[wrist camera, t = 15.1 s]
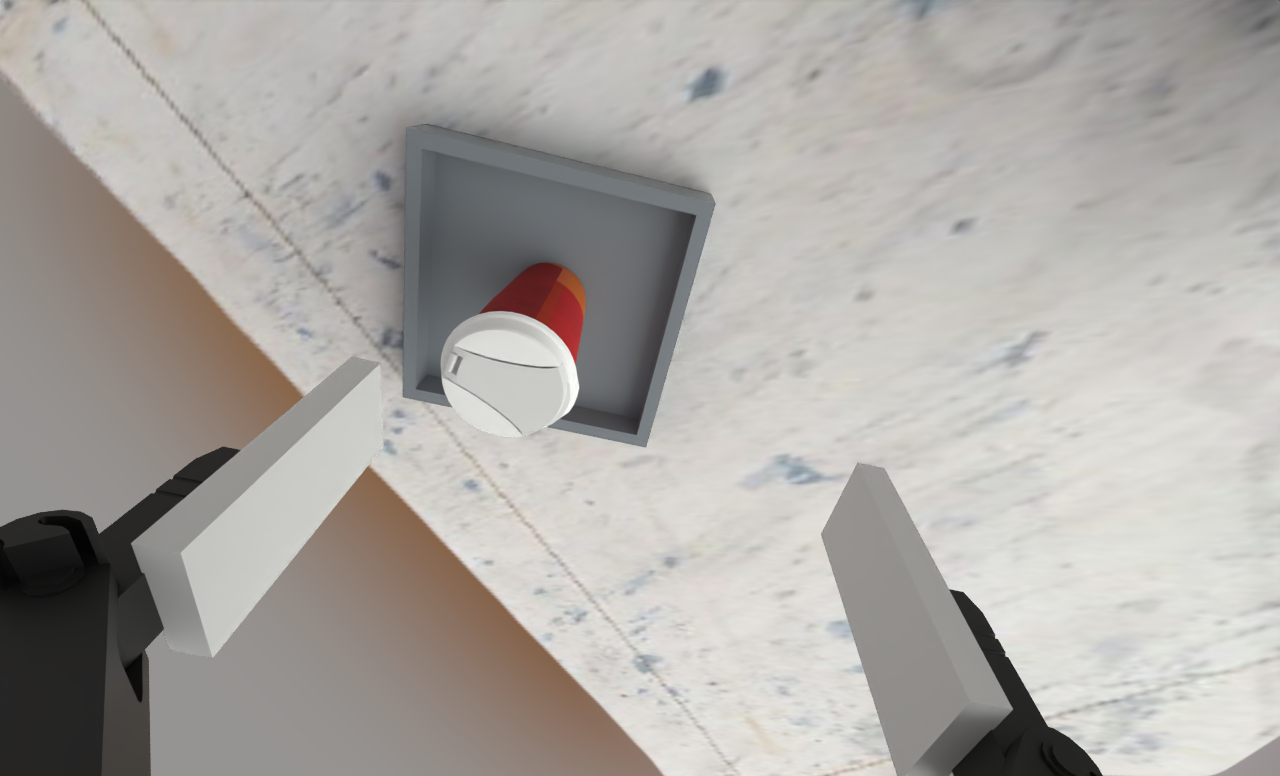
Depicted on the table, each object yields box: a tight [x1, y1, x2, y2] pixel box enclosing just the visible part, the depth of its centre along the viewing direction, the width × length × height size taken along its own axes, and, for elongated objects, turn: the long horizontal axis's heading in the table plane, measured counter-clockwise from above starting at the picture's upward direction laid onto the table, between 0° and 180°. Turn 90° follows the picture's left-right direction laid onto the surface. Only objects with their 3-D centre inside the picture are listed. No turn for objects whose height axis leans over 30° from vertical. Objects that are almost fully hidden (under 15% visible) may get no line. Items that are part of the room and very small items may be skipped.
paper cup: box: [441, 263, 586, 437], centre depth 36 cm, size 8×8×14 cm
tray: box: [403, 124, 716, 447], centre depth 41 cm, size 20×20×4 cm
